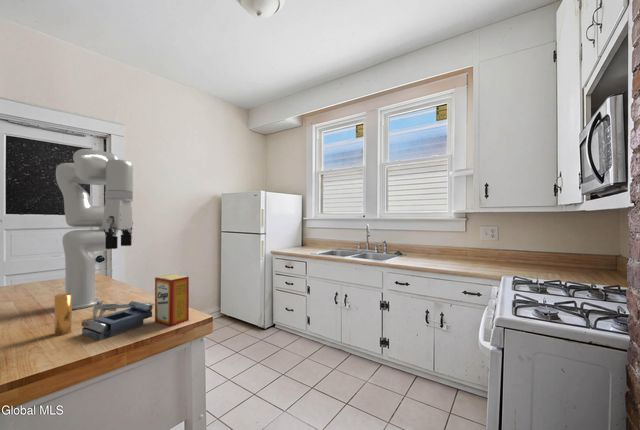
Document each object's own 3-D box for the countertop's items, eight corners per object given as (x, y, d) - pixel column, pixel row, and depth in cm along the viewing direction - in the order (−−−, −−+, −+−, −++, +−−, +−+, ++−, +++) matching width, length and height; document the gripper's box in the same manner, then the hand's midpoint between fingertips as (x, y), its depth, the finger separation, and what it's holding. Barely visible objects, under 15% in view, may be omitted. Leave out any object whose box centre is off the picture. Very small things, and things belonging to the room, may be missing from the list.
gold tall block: (51, 334, 88) (52, 296, 88) (67, 329, 91) (68, 293, 92) (58, 336, 86) (58, 297, 86) (74, 331, 90) (74, 294, 90)
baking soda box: (155, 321, 98) (155, 276, 99) (172, 315, 104) (172, 273, 104) (171, 326, 94) (171, 279, 94) (188, 320, 99) (188, 275, 100)
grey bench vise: (81, 334, 87) (81, 314, 87) (135, 317, 102) (135, 300, 102) (98, 340, 83) (98, 319, 83) (152, 322, 98) (152, 303, 98)
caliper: (93, 319, 101) (93, 302, 101) (92, 319, 102) (92, 301, 102) (154, 305, 117) (154, 290, 117) (153, 305, 118) (153, 290, 118)
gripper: (119, 198, 102) (119, 245, 102) (91, 194, 85) (91, 250, 85) (142, 198, 104) (142, 244, 103) (118, 194, 87) (118, 249, 86)
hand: (119, 247), depth 94 cm, fingers open, 9 cm apart
